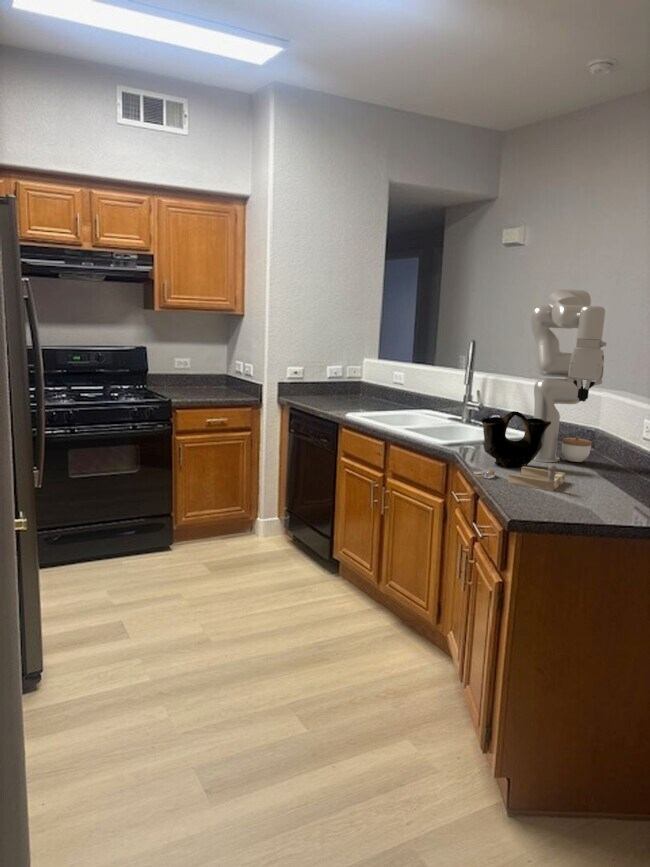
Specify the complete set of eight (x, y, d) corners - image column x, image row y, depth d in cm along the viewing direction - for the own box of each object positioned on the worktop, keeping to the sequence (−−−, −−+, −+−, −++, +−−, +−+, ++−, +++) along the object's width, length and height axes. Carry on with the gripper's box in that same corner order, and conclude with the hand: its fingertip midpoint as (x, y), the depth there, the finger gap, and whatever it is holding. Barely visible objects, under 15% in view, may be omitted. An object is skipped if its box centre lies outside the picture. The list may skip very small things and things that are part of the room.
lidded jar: (592, 464, 245) (594, 440, 243) (562, 461, 247) (565, 437, 245) (586, 458, 255) (589, 435, 254) (558, 456, 257) (560, 432, 256)
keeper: (522, 474, 224) (524, 452, 222) (564, 481, 216) (566, 458, 215) (506, 485, 209) (508, 460, 207) (550, 493, 201) (553, 468, 200)
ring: (471, 476, 223) (476, 478, 215) (471, 467, 222) (477, 469, 214) (491, 477, 223) (497, 480, 215) (492, 468, 222) (498, 470, 214)
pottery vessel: (540, 463, 243) (545, 410, 240) (550, 470, 233) (556, 415, 229) (474, 460, 243) (478, 408, 239) (481, 467, 232) (486, 412, 228)
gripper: (615, 346, 209) (608, 402, 213) (567, 343, 217) (561, 397, 221) (611, 346, 203) (604, 404, 206) (562, 343, 211) (556, 399, 214)
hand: (582, 400), depth 214 cm, fingers closed
